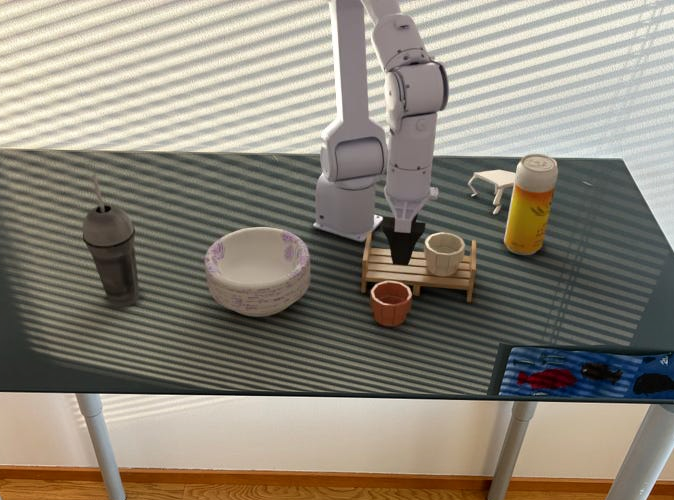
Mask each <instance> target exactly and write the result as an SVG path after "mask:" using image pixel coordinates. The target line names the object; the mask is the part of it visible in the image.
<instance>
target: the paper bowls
mask: <svg viewBox="0 0 674 500" xmlns="http://www.w3.org/2000/svg"><path fill="white" fill-rule="evenodd" d="M203 264H204V271H205V277H206V283H207V287H208V291H209V294H210V295H211V297H212V299H214V302H216V303H217V304H219V305H220V306H222V307H224V308H225V309H228V310H231V311H233V312H236V313H239V314H240V315H244V316H246V317H253V318H254V317H255V318H260V317H261V318H262V317H269V316H272V315H276V314H279V313H281V312H282V311H284V310H286V309H287V308H289V306H291V305H292V304H294V303H296V302H297V301H298V300H299V299H301V298H302V297H303V296H304V295H305V293H306V292H307V291H308V289H309V287H310V284H311V255H310V252H309V248H308V246H307V244H306V243H305V242H304V241H303V239H301V238H300V237H299V236H297V235H296V234H294V233H292V232H290V231H289V230H284V229H282V228H278V227H277V228H275V227H267V226H255V227H247V228H242V229H241V228H240V229H238V230H235V231H232V232H230V233H227V234H226V235H223V236H222V237H220V238H219V239H217V240H215V242H213V244H211V246H209V248H208V249H207V251H206V253H205V256H204V260H203Z"/></svg>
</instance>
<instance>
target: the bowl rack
mask: <svg viewBox="0 0 674 500" xmlns="http://www.w3.org/2000/svg"><path fill="white" fill-rule="evenodd" d="M372 236H373V232H368V234H367V239H366V240H365V246H364V251H363V256H362V263H361V264H362V266H361V269H362V270H361V271H362V272H361V288H360V289H361V291H360V292H361V293H362V294H363V293H364V294H365V293H366V290H367V286H368V285H367V284H368V282H371V283H381V282H384V281H397V282H401V283H403V284H404V285H406V286H412V296H417V297H418V296H420V293H421V292H420V290H421V287H427V288H428V287H429V288H441V289H451V290H452V289H453V290H461V291H462V290H464V291H466V303H472V298H473V291H474V286H475V285H474V284H475V280H476V279H475V278H476V273H477V240H476V239H472V240H471V245H470V252H469V255H464V258H463V260H462V261H461V262H460V264H459V268H458V270H457V271H456V273H454V274H452V275H450V276H446V277H441V276H436V275H434V274H432V273H431V272H430V271H429V270H428V269H427V266H426V259H425V256H424V251H414V250H413V253H412V256H411V259H410V262H409V264H408V265H396V264H393V262H392V258H391V252H390V248H389V249H388V248H378V247H377V248H375V247H372V240H373V239H372V238H373V237H372Z"/></svg>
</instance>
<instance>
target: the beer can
mask: <svg viewBox="0 0 674 500" xmlns="http://www.w3.org/2000/svg"><path fill="white" fill-rule="evenodd" d="M515 173H516V175H515V181H514V186H512V187H513V188H512V191H511V197H510V198H511V199H510V203H509V208H508V215H507V216H508V217H507V220H506V226H505V232H504V237H503V242H504V245H505V246H506V248H507V249H508V251H510V252H511V253H514V254H516V255H520V256H530V255H533V254H535V253H536V252H538V251H539V250H540V249H542V247H543V243H544V239H545V236H546V235H545V234H546V231H547V225H548V220H549V217H550V212H551V207H552V203H553V198H554V193H555V190H556V185H557V179H558V175H559V168H558V161H556V159H555V158H553V157H551V156H549V155H546V154H541V153H531V154H526V155H524V156H523V157H521V159H520V161H519V162H518V164H517V166H516V170H515Z"/></svg>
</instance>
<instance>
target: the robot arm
mask: <svg viewBox="0 0 674 500" xmlns="http://www.w3.org/2000/svg"><path fill="white" fill-rule="evenodd" d="M323 1H324V2H326V3H328V6H329V12H330V21H331V37H332V51H333V66H334V67H333V68H334V80H335V81H334V84H335V98H336V113H337V116H336V118H335V119H334V120H333V121H332V122H331V123H330V124H329V125H328V126H327V127H326V128H325V129H323V130H322V132H321V136H320V151H319V152H320V153H319V155H320V156H319V157H320V167H321V170H322V171H321V172H322V173H321V174H320V176H319V177H318V180H317V183H316V186H315V194H314V195H315V197H314V198H315V201H314V202H315V222H314V223H313V228H315V229H318V230H321V231H324V232H327V233H331V234H334V235H336V236H339V237H342V238H346V239H349V240H353V241H356V242H359V243H364V242H366V240H367V234H368V232H372V233H373V232H374V231H375V230H376V229H377V228H378V227H379V226H380V225H381V230H382V232H383V234H384V235H385V237H386V239H387V241H388V245H389V249H390V252H391V258H392V262H393V264H396V265H408V264H409V262H410V259H411V256H412V253H413V251H414V250H415V247H416V244H418V241H419V240H420V239H421V237H422V236H423V235H424V233H425V231H426V222H421V221H417V219H418V215H419V212H420V211H421V210H422V208H423V207H424V206H425V205H426V204H427V202H429V201H437V199H438V197H439V188H438V187H432V186H431V179H432V171H433V162H434V161H433V160H434V151H435V142H436V135H437V134H436V133H437V123H438V114H439V113H438V112H443V111H444V110H445V109H446V108H447V105H448V102H449V98H450V97H449V96H450V83H449V75H448V73H447V71H446V67H445V64H444V62H442V61H441V60H439V59H436V56H435V55H432V54H431V55H430V54H429V53H428V51H427V48H426V46H425V43H424V42H423V39H422V36H421V33H420V32H419V29H418V27H417V24H416V22H415V21H414V19H413V18H412V17H411V16H410V15H408V14H405V13H402V10H401V7H400V4H399V0H323ZM365 12H366V13H367V15H368V17H369V19H370V21H371V23H372V24H373V30H372V32H371V35H370V41H371V45H372V48H373V50H374V53H375V55H376V58H377V61H378V63H379V66H380V69H381V71H382V74H383V76H384V79H385V80H384V82H383V93H384V101H385V109H386V113H385V114H386V115H385V117H386V118H385V119H386V124H387V126H388V127H389V132H388V133H389V134H388V144H387V139H386V132H385V129H384V127H383V126H382V125H381V124H380V123H379V122H377V121H376V120H374V119H373V118H371V117H370V114H369V113H370V112H369V111H370V109H369V93H368V92H369V90H368V69H367V66H368V65H367V49H366V48H367V47H366V25H365V24H366V23H365V22H366V21H365ZM385 173H386V182H385V185H384V189H383V190H384V191H383V196H384V197H385V200H386V202H387V204H388V206H389V208H390V210H391V213H392V215H393V217H392V216H391V217H390V216H381V215H378V214H375V209H376V208H375V207H376V191H377V190H376V189H377V182H378V183H379V182H380V181H381V179H380V178H381V176H382V175H384V174H385Z"/></svg>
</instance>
